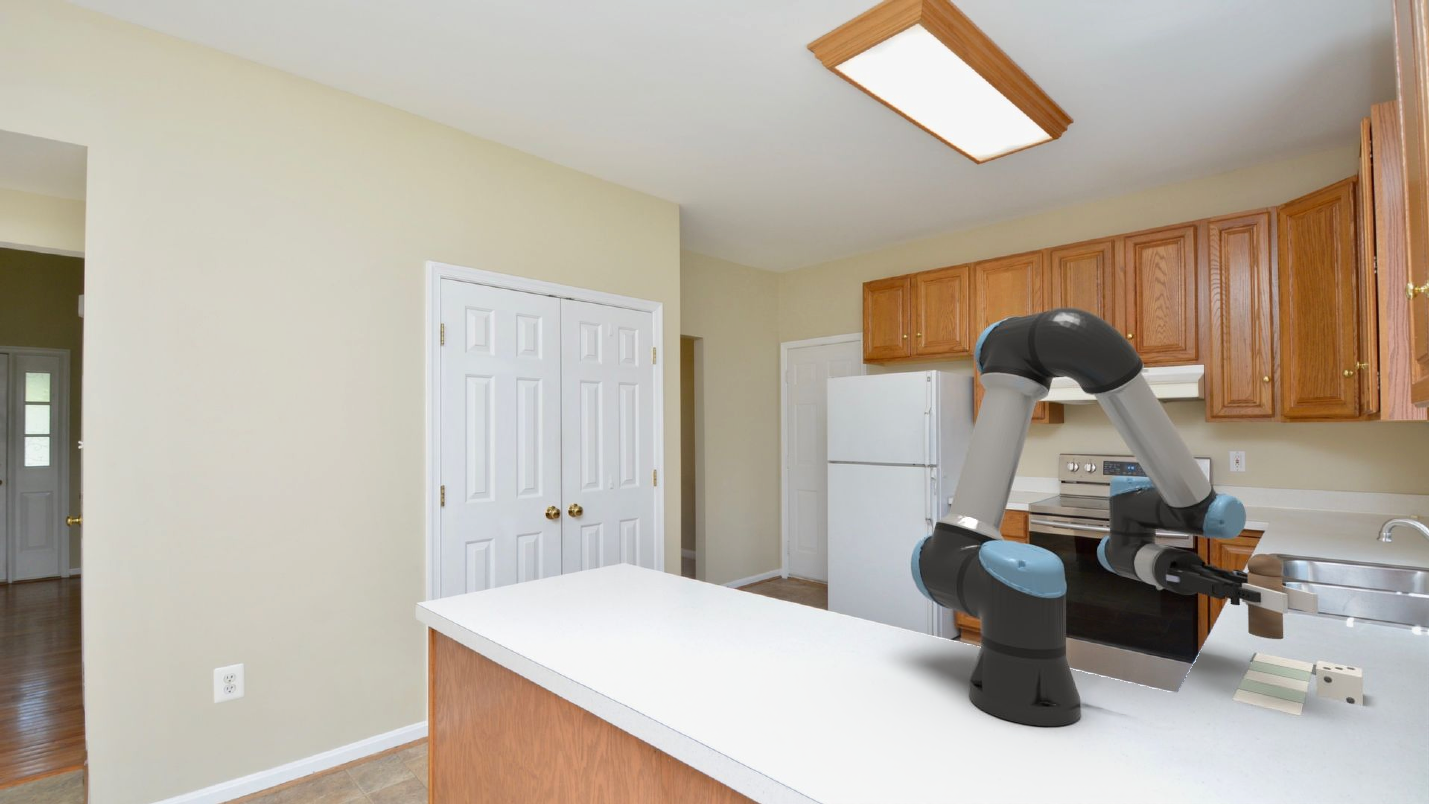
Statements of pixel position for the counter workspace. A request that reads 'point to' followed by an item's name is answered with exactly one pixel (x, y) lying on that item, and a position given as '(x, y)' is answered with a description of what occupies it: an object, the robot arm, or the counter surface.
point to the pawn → (1267, 576)
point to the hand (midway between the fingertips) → (1300, 603)
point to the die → (1339, 682)
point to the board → (1276, 683)
